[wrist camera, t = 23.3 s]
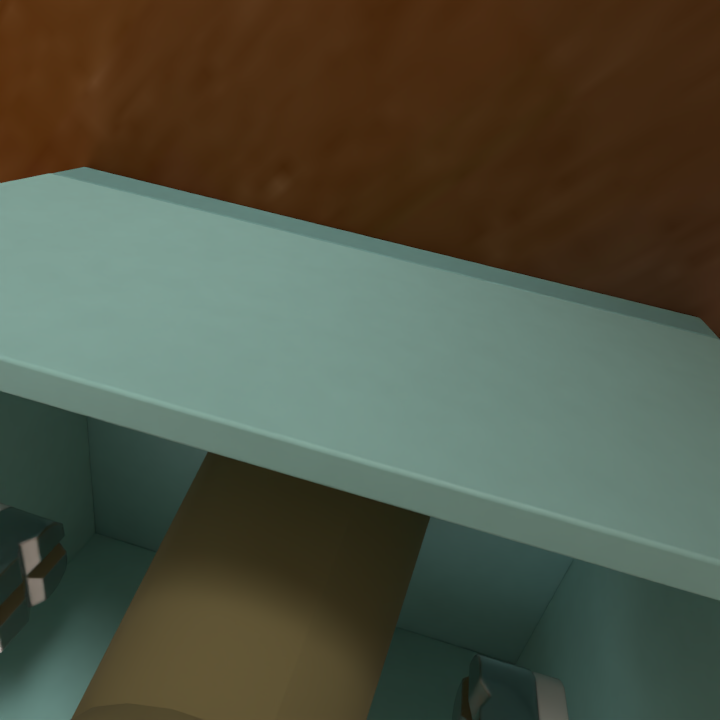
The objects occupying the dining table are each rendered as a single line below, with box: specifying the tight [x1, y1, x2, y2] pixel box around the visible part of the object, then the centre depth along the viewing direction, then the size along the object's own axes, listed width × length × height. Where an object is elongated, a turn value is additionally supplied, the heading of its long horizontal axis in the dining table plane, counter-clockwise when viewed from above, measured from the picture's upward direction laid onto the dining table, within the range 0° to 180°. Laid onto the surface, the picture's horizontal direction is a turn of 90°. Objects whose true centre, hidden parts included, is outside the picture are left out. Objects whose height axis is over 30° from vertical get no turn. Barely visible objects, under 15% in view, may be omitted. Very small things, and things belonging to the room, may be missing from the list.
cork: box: [70, 452, 430, 720], centre depth 10 cm, size 6×6×11 cm
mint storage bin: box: [0, 167, 720, 720], centre depth 12 cm, size 8×15×12 cm
